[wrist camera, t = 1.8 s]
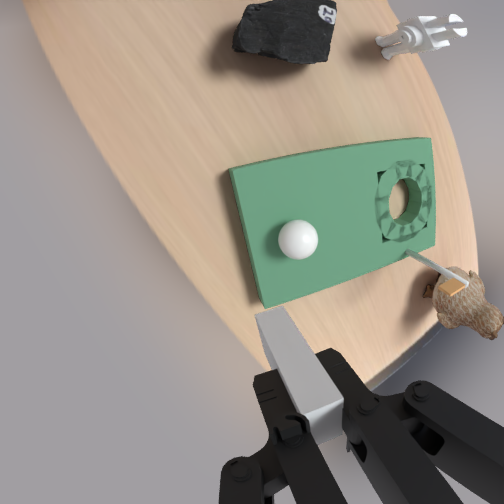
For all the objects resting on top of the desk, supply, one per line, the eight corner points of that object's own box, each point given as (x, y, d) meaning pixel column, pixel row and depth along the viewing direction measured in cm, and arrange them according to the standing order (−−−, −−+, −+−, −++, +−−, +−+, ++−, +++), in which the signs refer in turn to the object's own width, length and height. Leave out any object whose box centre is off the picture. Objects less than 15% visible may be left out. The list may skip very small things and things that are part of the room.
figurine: (420, 318, 39) (481, 369, 25) (406, 282, 35) (482, 336, 22) (453, 281, 39) (516, 321, 25) (443, 241, 35) (520, 280, 21)
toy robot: (412, 56, 24) (482, 41, 13) (373, 66, 24) (451, 44, 13) (398, 30, 23) (466, 8, 12) (358, 37, 23) (431, 5, 12)
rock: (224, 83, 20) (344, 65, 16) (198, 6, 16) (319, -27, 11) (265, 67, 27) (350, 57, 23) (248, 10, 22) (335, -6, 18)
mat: (228, 168, 25) (263, 180, 14) (417, 137, 28) (498, 144, 17) (259, 297, 30) (300, 375, 19) (423, 239, 34) (491, 273, 22)
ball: (270, 221, 25) (282, 231, 22) (305, 211, 26) (322, 220, 22) (277, 256, 27) (289, 270, 23) (310, 246, 27) (327, 258, 24)
